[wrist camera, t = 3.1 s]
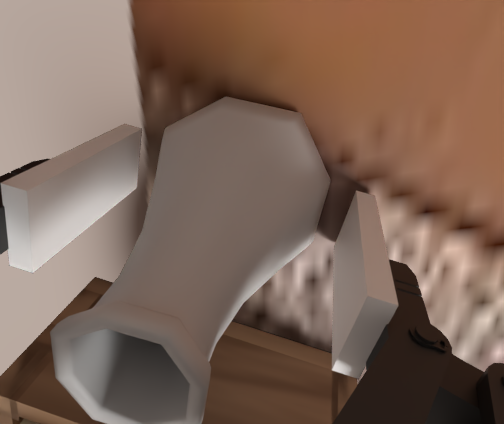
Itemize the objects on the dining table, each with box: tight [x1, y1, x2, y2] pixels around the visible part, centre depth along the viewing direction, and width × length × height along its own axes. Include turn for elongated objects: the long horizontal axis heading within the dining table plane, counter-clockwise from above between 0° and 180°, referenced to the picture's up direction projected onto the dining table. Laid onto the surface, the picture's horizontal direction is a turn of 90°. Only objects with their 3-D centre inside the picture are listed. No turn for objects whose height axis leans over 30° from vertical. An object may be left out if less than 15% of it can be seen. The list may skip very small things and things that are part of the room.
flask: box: [50, 97, 331, 424], centre depth 12 cm, size 7×7×10 cm
